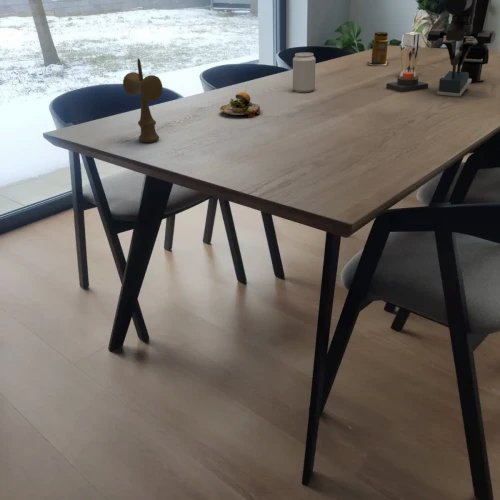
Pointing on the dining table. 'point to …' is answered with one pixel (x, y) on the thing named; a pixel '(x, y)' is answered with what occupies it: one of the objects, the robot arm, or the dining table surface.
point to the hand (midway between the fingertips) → (456, 65)
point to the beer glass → (410, 51)
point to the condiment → (379, 49)
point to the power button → (408, 75)
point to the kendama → (144, 100)
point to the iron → (454, 79)
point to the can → (304, 72)
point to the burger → (241, 106)
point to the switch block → (406, 85)
